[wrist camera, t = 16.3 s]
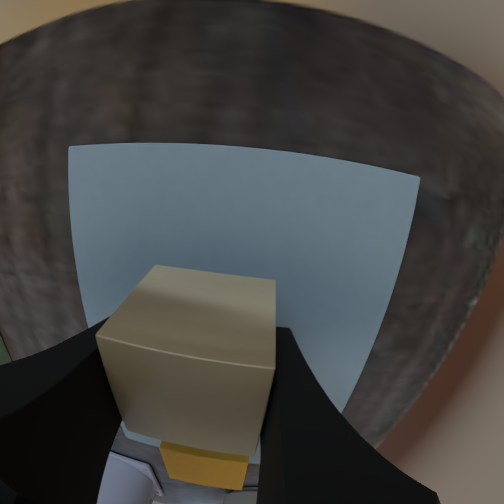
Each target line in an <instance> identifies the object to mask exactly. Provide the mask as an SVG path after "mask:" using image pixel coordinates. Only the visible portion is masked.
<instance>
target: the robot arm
mask: <svg viewBox="0 0 504 504" xmlns="http://www.w3.org/2000/svg"><path fill="white" fill-rule="evenodd" d="M109 317H110V316H109ZM109 317H107V318H106V319H104V320H102V321H100V322H99V323H97V324H95V325H93V326H92V327H90V328H88V329H86V330H85V331H83V332H81V333H79V334H77V335H75V336H73V337H71V338H69V339H67V340H65V341H64V342H62V343H60V344H58V345H56V346H53V347H51V348H49V349H47V350H44V351H42V352H39V353H37V354H34V355H32V356H29V357H26V358H23V359H19V360H16V361H13V362H9V363H6V364H2V365H0V504H152V502H153V499H154V496H155V495H158V496H163V495H164V493H163V491H162V489H161V487H160V485H159V483H158V481H157V479H156V477H155V475H154V473H153V470H152V468H151V466H150V465H149V464H146V463H143V462H140V461H137V460H134V459H131V458H128V457H125V456H122V455H119V454H116V453H113V452H111V451H110V450H111V447H112V444H113V442H114V439H115V436H116V433H117V431H118V429H119V427H120V424H121V422H122V421H123V419H122V417H121V414H120V412H119V409H118V407H117V404H116V401H115V398H114V396H113V393H112V390H111V387H110V384H109V381H108V378H107V375H106V372H105V368H104V365H103V362H102V358H101V355H100V351H99V348H98V344H97V340H96V336H95V335H96V333H97V332H98V331H99V329H100V328H101V327H102V326H103V325H104V323H105V322H106V321H107V320H108V319H109ZM260 453H261V454H260V472H259V482H258V492H257V501H256V504H440V501H439V498H438V496H437V493H436V492H434V491H432V490H431V489H429V488H427V487H426V486H424V485H422V484H421V483H419V482H417V481H416V480H414V479H412V478H411V477H409V476H408V475H406V474H405V473H403V472H402V471H401V470H399V469H398V468H397V467H395V466H394V465H393V464H391V463H390V462H389V461H388V460H386V459H385V458H384V457H383V456H381V454H379V453H378V452H377V451H376V450H375V449H374V448H373V447H372V446H371V445H370V444H369V443H368V442H367V441H365V440H364V439H363V438H362V437H361V436H360V435H359V434H358V433H357V431H356V430H355V429H354V428H353V427H352V426H351V425H350V424H349V423H348V421H347V420H346V419H345V418H344V417H343V415H342V414H341V413H340V412H339V411H338V409H337V408H336V407H335V405H334V404H333V403H332V401H331V400H330V399H329V397H328V396H327V394H326V393H325V391H324V390H323V388H322V387H321V385H320V384H319V382H318V381H317V379H316V378H315V376H314V374H313V372H312V371H311V369H310V367H309V366H308V364H307V362H306V360H305V358H304V356H303V354H302V352H301V350H300V348H299V346H298V344H297V342H296V340H295V338H294V335H293V333H292V331H291V329H290V328H288V327H278V326H276V369H275V373H274V378H273V383H272V387H271V392H270V396H269V400H268V405H267V409H266V413H265V418H264V422H263V426H262V430H261V434H260Z"/></svg>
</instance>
